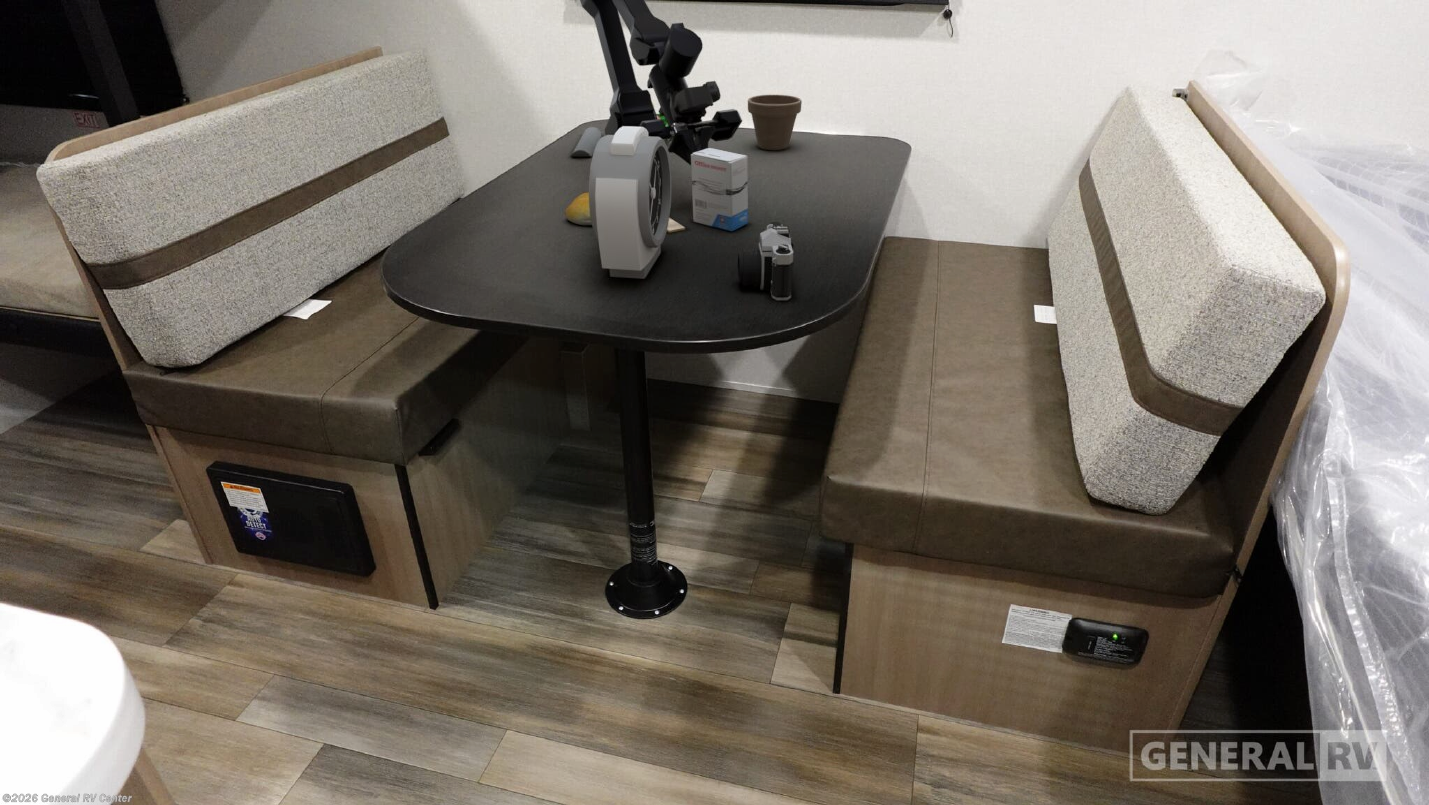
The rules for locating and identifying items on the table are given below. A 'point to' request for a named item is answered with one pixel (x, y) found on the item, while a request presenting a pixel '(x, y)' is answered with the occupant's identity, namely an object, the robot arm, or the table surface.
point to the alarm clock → (630, 200)
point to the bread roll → (579, 210)
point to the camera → (769, 262)
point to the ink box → (719, 188)
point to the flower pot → (774, 119)
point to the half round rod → (587, 143)
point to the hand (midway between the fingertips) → (705, 173)
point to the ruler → (674, 226)
